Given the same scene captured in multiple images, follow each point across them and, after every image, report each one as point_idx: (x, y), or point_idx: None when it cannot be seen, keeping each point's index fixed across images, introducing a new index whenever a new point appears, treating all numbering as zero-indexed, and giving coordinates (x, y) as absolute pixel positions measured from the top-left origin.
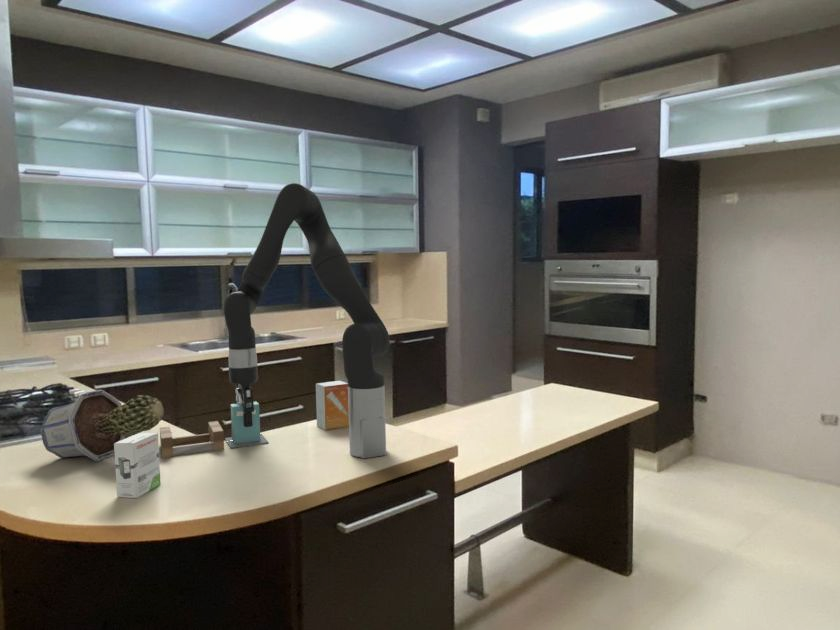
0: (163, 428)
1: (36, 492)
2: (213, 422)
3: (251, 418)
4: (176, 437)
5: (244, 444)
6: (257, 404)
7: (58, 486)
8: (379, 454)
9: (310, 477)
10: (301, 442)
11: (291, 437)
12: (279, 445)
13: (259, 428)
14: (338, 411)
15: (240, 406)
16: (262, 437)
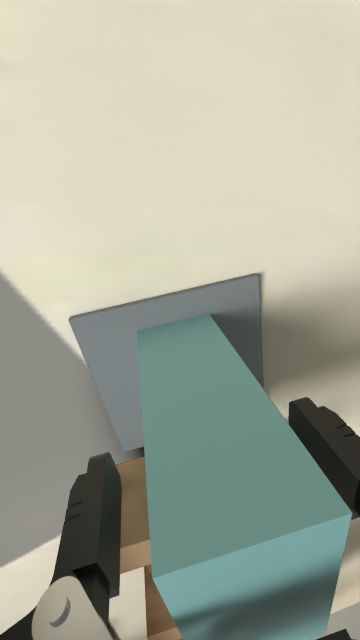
0: (169, 638)
1: (355, 591)
2: (122, 561)
3: (340, 437)
4: (151, 571)
5: (251, 371)
6: (346, 522)
7: (346, 584)
8: None
9: None
10: (321, 63)
11: (178, 126)
12: (312, 216)
13: (230, 346)
14: None
15: (328, 606)
16: (162, 308)
